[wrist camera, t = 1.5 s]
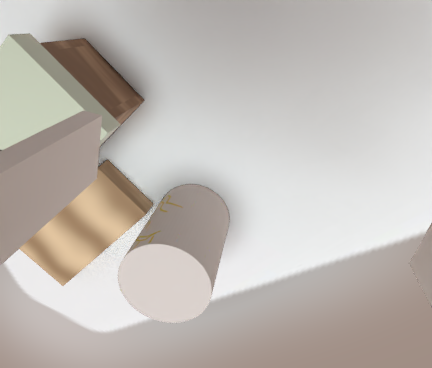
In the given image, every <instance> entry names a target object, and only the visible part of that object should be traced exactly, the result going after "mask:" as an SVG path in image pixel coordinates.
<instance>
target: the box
mask: <svg viewBox="0 0 432 368" xmlns="http://www.w3.org/2000/svg"><path fill="white" fill-rule="evenodd" d="M40 44H41V45H42V46H43V47H44V48H45V49H46V50H47V51H48V52H49V53H50V54H51V55H52V56H53V57H54V58H55V59H56V60H57V61H58V62H59V63H60V64H61V65H62V66H63V67H64V68H65V69H66V70H67V71H68V72H69V73H70V74H71V75H72V76H73V77H74V78H75V79H76V80H77V81H78V82H79V83H80V84H81V85H82V86H83V87H84V88H85V89H86V90H87V91H88V92H89V93H90V94H91V95H92V96H93V97H94V98H95V99H96V100H97V101H98V102H99V103H100V104H101V105H102V106H103V107H104V108H105V109H106V110H107V111H108V112H109V113H110V114H111V115H112V116H113V117H114V118H115V119H116V120H117V121H118V122H119V123H120V124H122V123H123V122H124V121H125V120H126V119H127V118H128V117H129V116H130V115H131V114H132V113H133V112H134V111H135V110H136V109H137V108H138V107H139V106H140V104H141V103H142V102H143V101H144V99H143V98H142V97H141V96H140V95H139V94H138V93H137V92H136V91H135V90H134V89H133V88H132V87H131V86H130V85H129V84H128V83H127V82H126V81H125V80H124V79H123V78H122V77H121V76H120V75H119V74H118V72H117V71H116V70H115V69H114V68H113V67H112V66H111V65H110V64H109V63H108V62H107V61H106V60H105V59H104V58H103V57H102V56H101V55H100V54H99V53H98V52H97V51H96V50H95V49H94V48H93V47H92V45H91V44H90V43H89V42H88V41H87V40H86V39H75V40H65V41H55V42H45V43H40ZM119 127H120V126H119ZM119 127H118V128H119ZM118 128H117V129H118ZM117 129H116V130H117ZM116 130H115V131H116ZM115 131H114V132H115ZM114 132H113V133H114ZM113 133H112V134H113ZM112 134H111V135H112ZM111 135H110V136H111ZM110 136H109V137H110ZM109 137H108V138H109ZM108 138H107V139H108ZM107 139H106V140H107Z"/></svg>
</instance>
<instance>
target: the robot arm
mask: <svg viewBox="0 0 432 368" xmlns="http://www.w3.org/2000/svg"><path fill="white" fill-rule="evenodd" d="M101 124H102V115H99V114H95V113H91V112H87V111H84V110H83V111H81V112H79V113H77V114H75V115H73V116H71V117H69V118H67V119H65V120H63V121H61V122H59V123H57V124H55V125H53V126H51V127H49V128H46V129H44V130H42V131H40V132H38V133H36V134H34V135H32V136H30V137H28V138H26V139H24V140H22V141H20V142H18V143H16V144H14V145H12V146H10V147H8V148H6V149H4V150H0V265H1V264H3V263H4V262H5V261H6V260H7V259H8V258H9V257H10V256H11V255H13V254H14V253H15V252H16V251H17V250H18V249H19V248H20V247H21V246H23V245H24V244H25V243H26V242H27V241H28V240H29V239H30V238H31V237H33V236H34V235H35V234H36V233H37V232H38V231H39V230H40V229H41V228H43V227H44V226H45V225H46V224H47V223H48V222H49V221H50V220H51V219H53V218H54V217H55V216H56V215H57V214H58V213H59V212H60V211H61V210H63V209H64V208H65V207H66V206H67V205H68V204H69V203H70V202H71V201H73V200H74V199H75V198H76V197H77V196H78V195H79V194H80V193H81V192H83V191H84V190H85V189H86V188H87V187H88V186H89V185H90V184H91V183H93V182H94V181H95V180H96V179H97V171H98V159H99V147H100V135H101ZM409 264H410V266H411V268H412V270H413V272H414V274H415V276H416V278H417V280H418V282H419V284H420V286H421V288H422V289H423V292H424V294H425V296H426V298H427V300H428V301H429V303H430V305H431V307H432V223H431V225H430V227H429V229H428V230H427V232H426V234H425V236H424V238H423V239H422V241H421V243H420V245H419V247H418V248H417V250H416V252H415V254H414V255H413V257H412V259H411V261H410V263H409Z"/></svg>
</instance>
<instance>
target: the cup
mask: <svg viewBox="0 0 432 368" xmlns="http://www.w3.org/2000/svg"><path fill="white" fill-rule="evenodd" d="M229 220H230V219H229V212H228V209H227V206H226V204H225V203H224V201H223V200H222V199H221V197H220V196H219V195H218V194H216V193H215V192H214V191H212V190H211V189H209V188H207V187H204V186H201V185H196V184H185V185H180V186H177V187H175V188H173V189H172V190H170V191H169V192H168V193H167V194H166V195H165V196H164V198H163V199H162V201H161V202H160V204H159V205H158V207H157V208H156V210H155V211H154V213H153V214H152V216H151V217H150V219H149V220H148V222H147V223H146V225H145V227H144V228H143V230H142V231H141V233H140V234H139V236H138V237H137V239H136V240H135V242H134V243H133V245H132V246H131V248H130V249H129V251H128V252H127V254H126V256H125V257H124V259H123V260H122V262H121V264H120V266H119V270H118V283H119V287H120V290H121V292H122V294H123V296H124V297H125V299H126V300H127V301H128V302H129V304H130V305H131V306H132V307H134V308H135V309H136V310H137V311H139V312H140V313H142V314H143V315H145V316H147V317H149V318H152V319H154V320H158V321H162V322H169V323H177V322H184V321H188V320H191V319H193V318H195V317H197V316H198V315H200V314H201V313H202V312H203V311H204V310H205V309H206V307H207V306H208V304H209V302H210V299H211V295H212V291H213V287H214V283H215V279H216V275H217V271H218V267H219V263H220V259H221V255H222V251H223V247H224V243H225V239H226V235H227V231H228V227H229Z"/></svg>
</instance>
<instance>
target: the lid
mask: <svg viewBox="0 0 432 368" xmlns="http://www.w3.org/2000/svg"><path fill="white" fill-rule="evenodd" d="M83 110H84V111H87V112H91V113H95V114H99V115H102V124H101V135H100V146H101V145H102V144H103V143H104V142H105V141H106V139H107V138H108V137H109V136H110V135H111V134H112V133H113V132H114V131H115V130H116V129H117V128H118V127H119V126H120V125H121V124H120V123H119V122H118V121H117V120H116V119H115V118H114V117H113V116H112V115H111V114H110V113H109V112H108V111H107V110H106V109H105V108H104V107H103V106H102V105H101V104H100V103H99V102H98V101H97V100H96V99H95V98H94V97H93V96H92V95H91V94H90V93H89V92H88V91H87V90H86V89H85V88H84V87H83V86H82V85H81V84H80V83H79V82H78V81H77V80H76V79H75V78H74V77H73V76H72V75H71V74H70V73H69V72H68V71H67V70H66V69H65V68H64V67H63V66H62V65H61V64H60V63H59V62H58V61H57V60H56V59H55V58H54V57H53V56H52V55H51V54H50V53H49V52H48V51H47V50H46V49H45V48H44V47H43V46H42V45H41V44H40V43H39V42H38V41H37V40H36V39H35V38H34V37H33V36H32V35H31V34H30V33H29V34H12V35H8V36H7V38H6V39H5V41H4V42H3V44H2V45H1V47H0V150H4V149H6V148H8V147H10V146H12V145H14V144H16V143H18V142H20V141H22V140H24V139H26V138H28V137H30V136H32V135H34V134H36V133H38V132H40V131H42V130H44V129H46V128H49V127H51V126H53V125H55V124H57V123H59V122H61V121H63V120H65V119H67V118H69V117H71V116H73V115H75V114H77V113H79V112H81V111H83Z"/></svg>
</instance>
